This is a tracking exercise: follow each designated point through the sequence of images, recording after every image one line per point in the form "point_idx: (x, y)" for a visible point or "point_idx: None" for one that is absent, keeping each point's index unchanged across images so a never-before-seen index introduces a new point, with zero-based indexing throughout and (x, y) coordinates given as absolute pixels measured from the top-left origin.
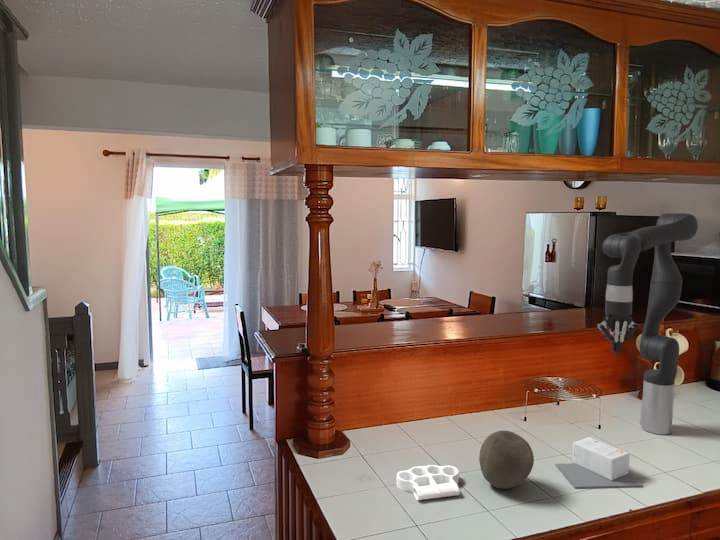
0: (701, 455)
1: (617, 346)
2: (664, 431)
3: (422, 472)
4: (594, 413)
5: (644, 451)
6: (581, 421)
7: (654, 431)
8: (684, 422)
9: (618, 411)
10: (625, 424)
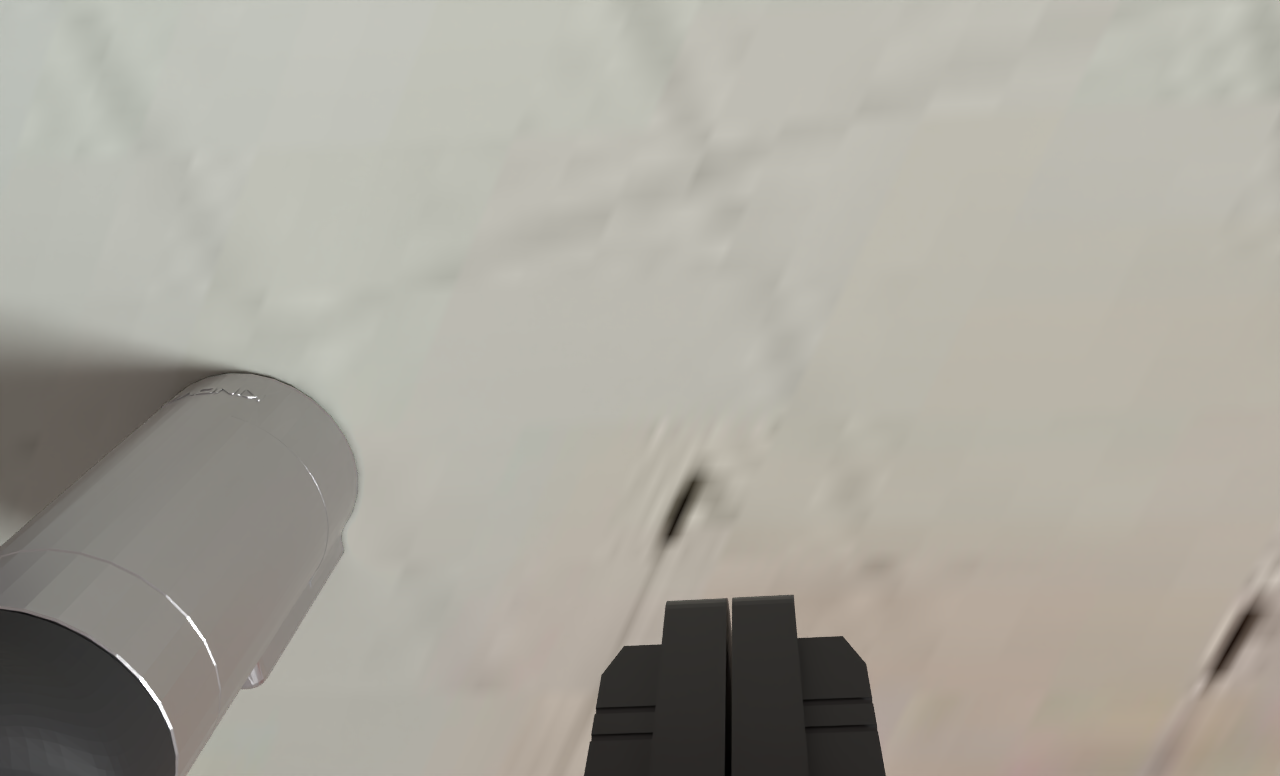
0: (74, 15)
1: (767, 719)
2: (219, 383)
3: None
4: None
5: (502, 64)
6: None
7: (293, 397)
8: None
9: (422, 759)
10: (457, 549)
